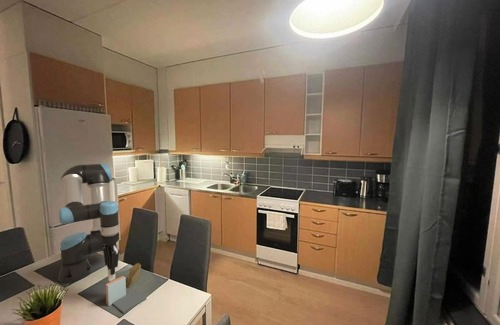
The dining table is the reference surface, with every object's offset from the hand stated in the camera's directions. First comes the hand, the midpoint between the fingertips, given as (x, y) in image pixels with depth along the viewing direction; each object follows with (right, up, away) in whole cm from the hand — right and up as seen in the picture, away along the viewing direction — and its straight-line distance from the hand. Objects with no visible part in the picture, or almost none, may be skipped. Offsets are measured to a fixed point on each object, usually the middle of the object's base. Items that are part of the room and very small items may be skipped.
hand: (111, 279), depth 107 cm
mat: (+10, -10, -2) cm, 14 cm away
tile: (+3, -9, -1) cm, 10 cm away
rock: (+3, -8, +13) cm, 16 cm away
